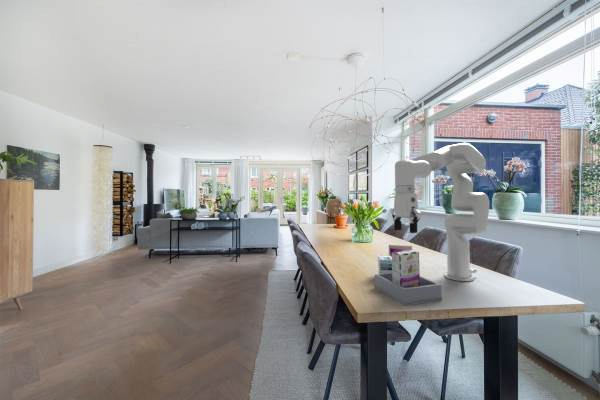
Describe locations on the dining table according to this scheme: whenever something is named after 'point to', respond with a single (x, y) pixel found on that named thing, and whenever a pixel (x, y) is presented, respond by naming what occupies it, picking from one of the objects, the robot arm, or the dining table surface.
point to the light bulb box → (384, 264)
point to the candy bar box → (406, 268)
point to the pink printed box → (398, 248)
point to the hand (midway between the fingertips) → (405, 231)
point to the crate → (409, 290)
